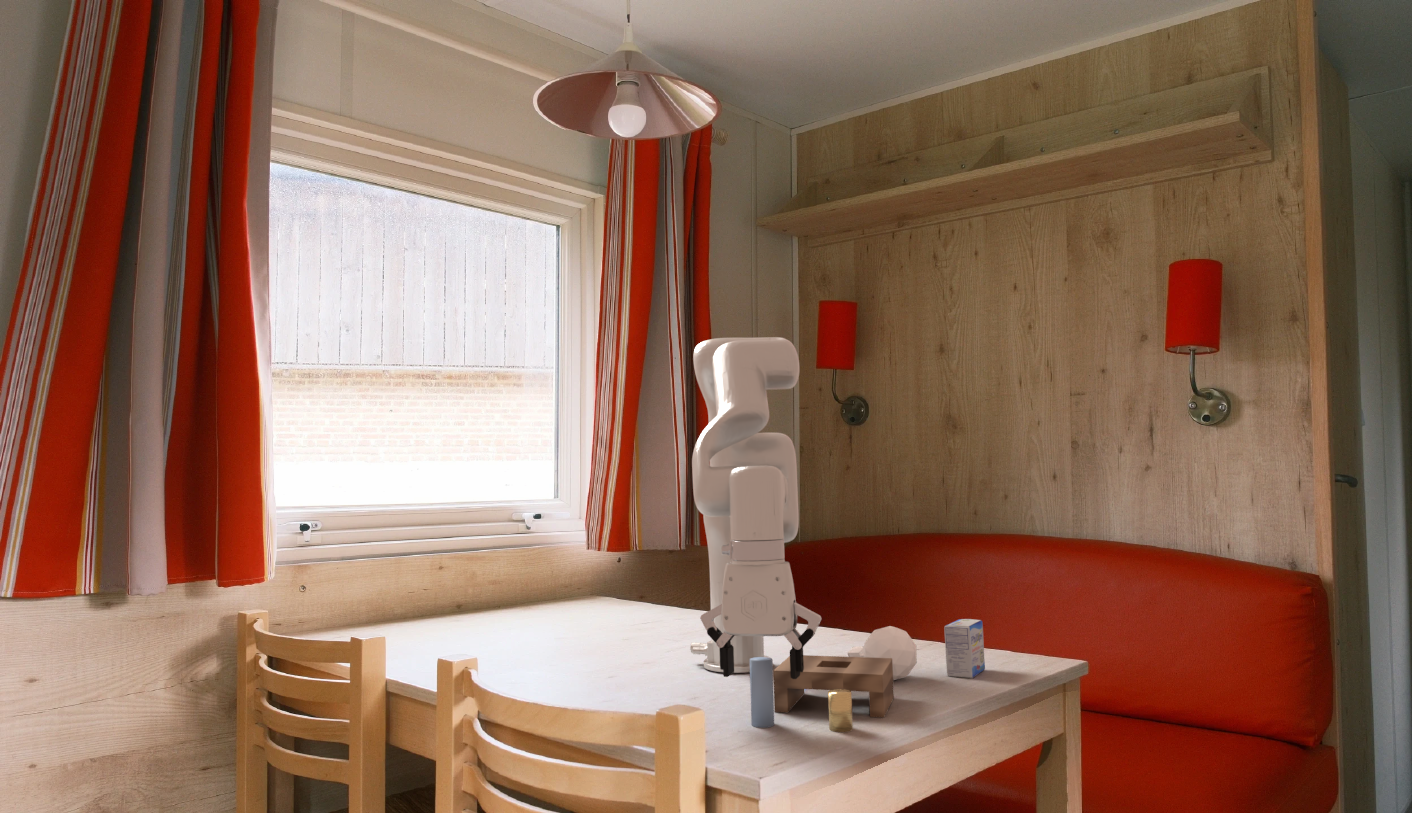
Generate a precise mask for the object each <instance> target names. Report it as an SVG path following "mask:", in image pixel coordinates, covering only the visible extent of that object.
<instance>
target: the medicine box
mask: <svg viewBox="0 0 1412 813" xmlns="http://www.w3.org/2000/svg"><path fill="white" fill-rule="evenodd" d="M983 624H984V623H983V620H982V619H972V618H961V619H957V620H955V621H952V622H950V623H949V624H946V625H944V642H945V643H944V644H945V646H944V648H945V661H946V662H945V663H946V664H945V665H946V666H945V667H946V676H947V677H952V678H953V677H954V678H963V679H974V678H975V677H976V676H978V675H979V674H980V673H982V672H983V671H984V670H985V669H986V664H985V663H986V662H985V660H986V659H985V646H984V645H985V644H984V643H985V642H984V626H983Z"/></svg>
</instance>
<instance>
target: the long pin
mask: <svg viewBox="0 0 1412 813" xmlns="http://www.w3.org/2000/svg"><path fill="white" fill-rule="evenodd" d="M772 660H773V658H772V657H770V658H769V656H768V657H755V658H751V659H750V672H749V685H750V686H749V687H750V688H749V689H750V718H751V719H750V721H751V723H750V724H751V726H752V727H754V728H760V729H762V728H771V727H774V726H775V709H774V677H773V670H774V667H773V665H772Z"/></svg>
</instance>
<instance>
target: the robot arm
mask: <svg viewBox="0 0 1412 813" xmlns="http://www.w3.org/2000/svg"><path fill="white" fill-rule="evenodd" d="M798 354H799V353H798V352H797V349H796V347H795V346H794V344H793V343H792V341H790V340H789V339H786V338H785V337H779V336H778V337H777V336H775V337H774V336H773V337H772V336H771V337H768V336H767V337H762V336H761V337H717V338H711V339H707V340H703V341H701V342H700V343H699V342H698V344H697V345H696V346H695V347H694V351H693V358H692V360H693V368H694V373H695V378H696V381H697V384H698V387H699V390H700V392H701V394H702V397H703V399H704V401H705V405H706V408H707V415H708V419H707V420H708V424H707V425H706V426H705V427H704V429H703V430H702V431H701V433H700V435H698V436H699V437H698V438H697V441H696V442H695V444H694V448H693V452H692V458H691V467H692V468H691V469H692V489H693V490H692V492H693V499H694V504H695V507H696V508H697V510H698V512H699V513H700V514H702V515H703V524H704V530H705V531H704V532H705V535H706V536H705V537H706V542H707V551H708V563H709V564H708V565H709V591H710V592H709V593H710V595H709V596H710V610H708V611H706V612H704V613H703V614H701V615H700V621H701V623H702V625H703V626H704V628H705V630H706V634H707V635H708V636H709V638H710V639H711V640H709V641H707V642H706V643H704V642H703V643H702V642H691V644H690V647H689V648H690V649H689V650H690V653H691V654H693V655H704V656H705V657H706V658H705V659H704V660H703V667H704V669H706V670H708V671H712V672H716V673H722V675H723V677H725V678H728V677H729V676H731V675H733V674H743V673H744V674H745V673H750V659H751V658H755V657H769V656H767V655H765V649H764V648H765V645H764V644H765V643H764V641H765V640H764V637H785V639H786V640H787V641H788V643H790V645H791V649H790V650H789V656H790V675H791V678H792V679H797V678H798V677H799V676H800V672H803V670H804V661H803V655H804V647H805V646H806V644H807V643H808V642H809V641H810V640H811V639H812V638H813V637H814V635H816V632H817V630H818V627H819V626H820V624H821V621H822V616H821V615H820V614H818V613H816V612H814V611H812V610H811V609H808V608H807V607H805V606H803V605H802V604H799V603H798V602H797V601H796V592H795V583H794V579H793V574H792V569H791V564H790V562H789V561H786V560H785V543H789V542H791V541H793V540H795V538H796V536H797V534H798V532H799V525H800V524H799V521H800V520H799V518H800V517H799V516H800V515H799V493H798V491H799V489H798V466H797V454H796V449H795V446H794V443H793V440H792V439H791V438H790V437H789V435H787V434H785V433H781V432H762V430H763V429H764V428H765V427H766V426H767V425H768V422H769V419H770V408H769V403H768V402H769V401H768V395H767V394H768V393H767V390H790V389H793V388H794V387H795V386H796V384H797V383H798V380H799V378H800V377H799V376H800V360H799V355H798ZM798 617H800V618H802V619H804V620H806V621H807V622H808V623H807V627H806V629H805V630H804V632H803V633H802V634H801V633H800V632H799V630H797V626H798V625H797V624H798ZM769 658H771V657H769ZM773 661H774V660H773V659H772V666H773V665H774V663H773Z"/></svg>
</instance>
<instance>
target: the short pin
mask: <svg viewBox="0 0 1412 813" xmlns="http://www.w3.org/2000/svg"><path fill="white" fill-rule="evenodd" d="M852 695H853V694H852V691H850V690H845V689H834V690H827V696H828V697H827V703H828V706H827V708H828V728H829V731H830V732H834V733H848V732H852V731H853V729H854V727H853V726H854V725H853V720H854V719H853V700H852Z"/></svg>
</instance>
